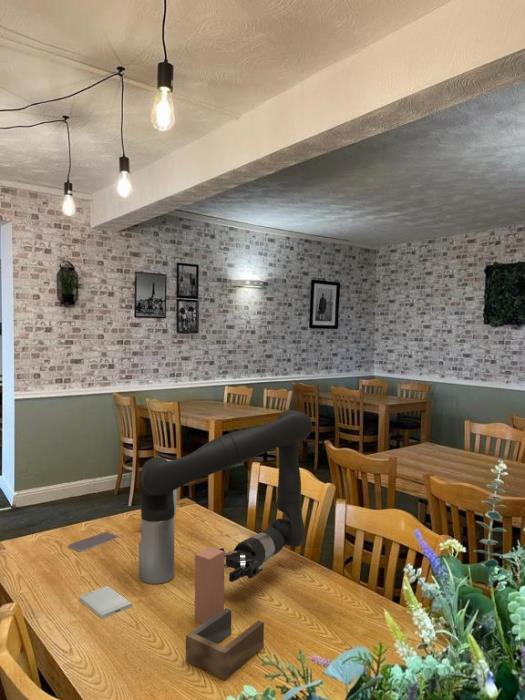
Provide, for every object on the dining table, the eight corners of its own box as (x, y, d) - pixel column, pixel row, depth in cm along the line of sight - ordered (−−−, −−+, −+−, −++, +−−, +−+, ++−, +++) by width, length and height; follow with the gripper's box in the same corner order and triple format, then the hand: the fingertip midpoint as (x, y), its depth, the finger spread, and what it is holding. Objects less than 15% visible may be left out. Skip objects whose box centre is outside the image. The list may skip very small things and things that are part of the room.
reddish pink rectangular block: (194, 620, 124) (195, 554, 124) (209, 610, 129) (210, 546, 128) (209, 626, 122) (209, 559, 121) (223, 616, 126) (224, 551, 126)
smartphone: (119, 536, 174) (80, 550, 162) (119, 539, 174) (80, 553, 162) (105, 531, 179) (66, 545, 167) (105, 534, 179) (66, 547, 167)
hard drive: (79, 595, 133) (102, 614, 125) (108, 585, 139) (132, 602, 130) (79, 602, 134) (102, 621, 125) (108, 591, 139) (132, 608, 130)
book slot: (185, 661, 109) (185, 635, 109) (226, 631, 120) (226, 607, 120) (224, 680, 103) (225, 653, 103) (263, 647, 114) (263, 622, 114)
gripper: (234, 531, 144) (194, 551, 131) (277, 543, 136) (239, 565, 123) (233, 558, 145) (194, 580, 131) (276, 571, 136) (239, 596, 123)
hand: (216, 573), depth 127 cm, fingers open, 8 cm apart
